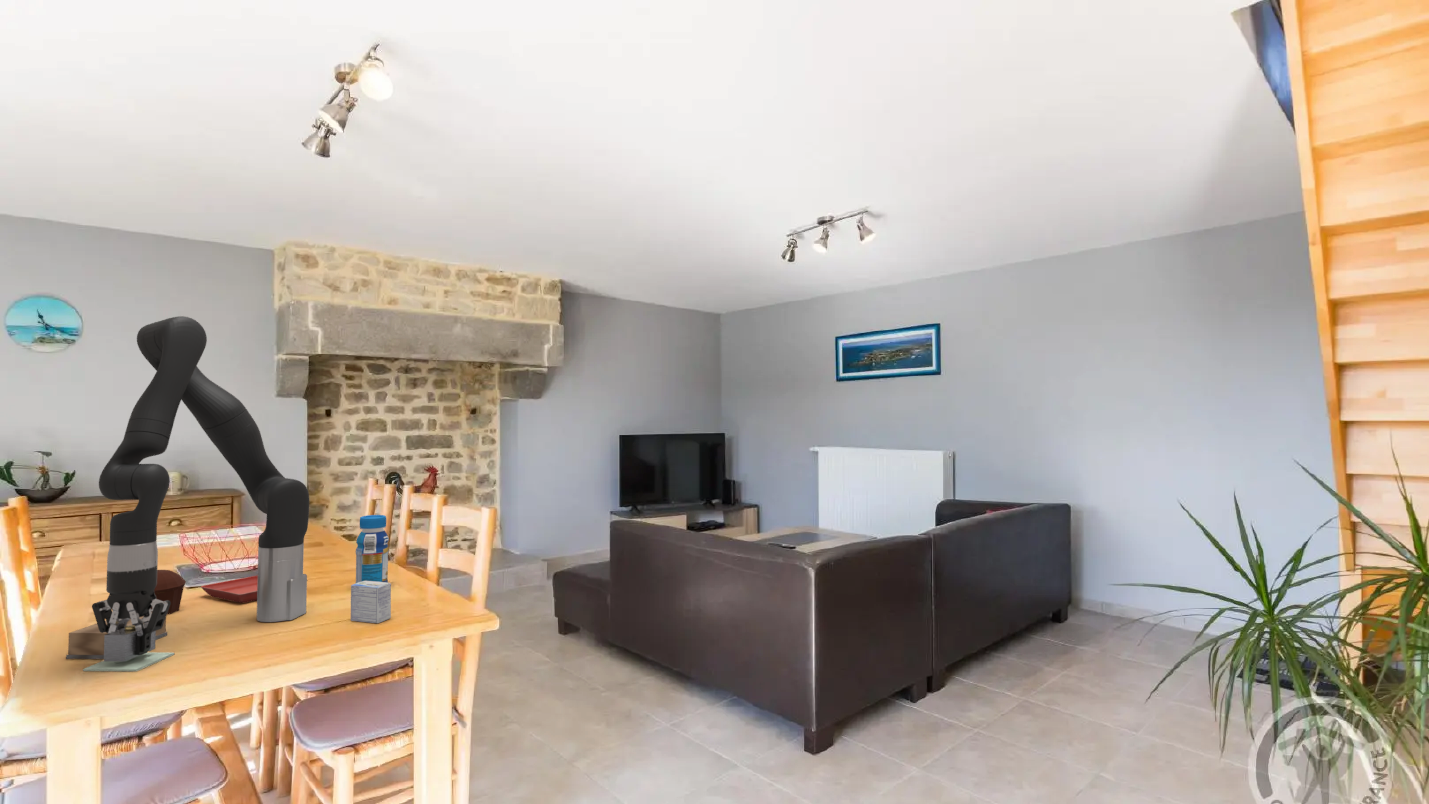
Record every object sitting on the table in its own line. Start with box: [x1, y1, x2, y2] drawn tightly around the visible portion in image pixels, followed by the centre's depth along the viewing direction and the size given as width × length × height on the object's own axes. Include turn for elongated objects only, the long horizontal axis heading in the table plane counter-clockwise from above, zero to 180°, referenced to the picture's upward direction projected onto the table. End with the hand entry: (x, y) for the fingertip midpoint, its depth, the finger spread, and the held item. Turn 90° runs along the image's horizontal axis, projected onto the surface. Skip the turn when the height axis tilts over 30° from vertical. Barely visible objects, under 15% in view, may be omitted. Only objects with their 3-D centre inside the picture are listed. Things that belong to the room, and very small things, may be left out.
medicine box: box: [350, 581, 392, 624], centre depth 160 cm, size 8×4×9 cm, turn 74°
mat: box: [82, 651, 175, 672], centre depth 131 cm, size 10×9×1 cm
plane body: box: [65, 616, 168, 660], centre depth 140 cm, size 8×14×5 cm, turn 0°
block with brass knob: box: [103, 624, 156, 662], centre depth 132 cm, size 4×7×6 cm, turn 0°
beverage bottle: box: [355, 514, 390, 583], centre depth 190 cm, size 8×8×20 cm
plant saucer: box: [200, 574, 309, 604], centre depth 182 cm, size 18×18×3 cm
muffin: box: [151, 569, 187, 615], centre depth 164 cm, size 12×11×10 cm
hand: (130, 653), depth 132 cm, fingers closed on block with brass knob, 4 cm apart
